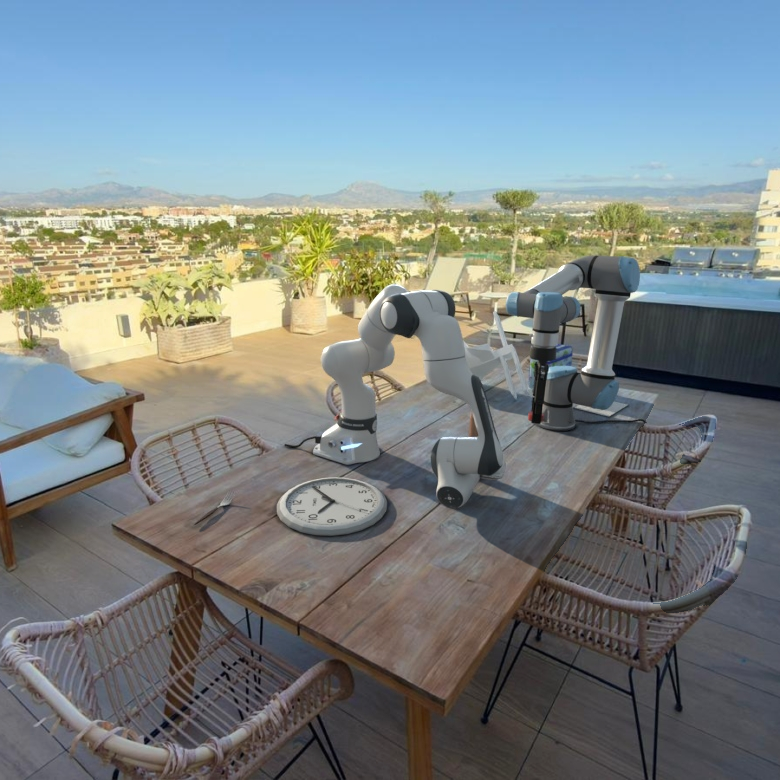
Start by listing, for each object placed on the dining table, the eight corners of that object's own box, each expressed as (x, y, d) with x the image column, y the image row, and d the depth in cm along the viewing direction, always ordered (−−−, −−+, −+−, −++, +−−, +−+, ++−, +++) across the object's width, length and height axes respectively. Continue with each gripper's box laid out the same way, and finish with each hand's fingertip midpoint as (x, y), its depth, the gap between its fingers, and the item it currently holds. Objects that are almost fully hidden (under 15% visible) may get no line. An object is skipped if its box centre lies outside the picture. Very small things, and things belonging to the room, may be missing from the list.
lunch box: (544, 395, 239) (549, 351, 233) (524, 390, 247) (528, 347, 240) (571, 384, 257) (577, 343, 251) (552, 380, 264) (556, 339, 258)
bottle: (471, 470, 165) (477, 393, 157) (484, 475, 162) (490, 396, 154) (463, 475, 161) (468, 396, 154) (476, 480, 158) (481, 400, 151)
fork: (190, 525, 132) (189, 518, 131) (229, 496, 146) (228, 490, 145) (198, 527, 131) (198, 520, 130) (237, 498, 145) (236, 491, 145)
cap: (525, 418, 162) (525, 412, 161) (536, 416, 163) (537, 410, 163) (533, 423, 158) (534, 416, 157) (546, 421, 159) (546, 415, 159)
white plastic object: (461, 429, 252) (437, 405, 227) (444, 352, 274) (420, 323, 250) (535, 404, 240) (518, 377, 215) (510, 326, 262) (492, 293, 237)
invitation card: (608, 416, 214) (573, 407, 224) (608, 416, 214) (573, 408, 224) (628, 404, 229) (594, 396, 238) (628, 405, 229) (594, 397, 238)
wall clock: (392, 527, 129) (268, 531, 127) (391, 533, 130) (269, 537, 127) (383, 473, 158) (282, 475, 155) (383, 478, 158) (282, 480, 156)
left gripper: (502, 469, 144) (510, 450, 156) (431, 456, 151) (444, 439, 163) (500, 489, 145) (508, 469, 158) (430, 476, 153) (443, 458, 165)
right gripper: (529, 339, 163) (522, 410, 170) (532, 351, 146) (523, 429, 153) (554, 340, 161) (545, 412, 168) (560, 353, 145) (550, 431, 152)
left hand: (475, 454), depth 160 cm, fingers closed on bottle, 5 cm apart
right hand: (535, 420), depth 161 cm, fingers closed on cap, 4 cm apart
